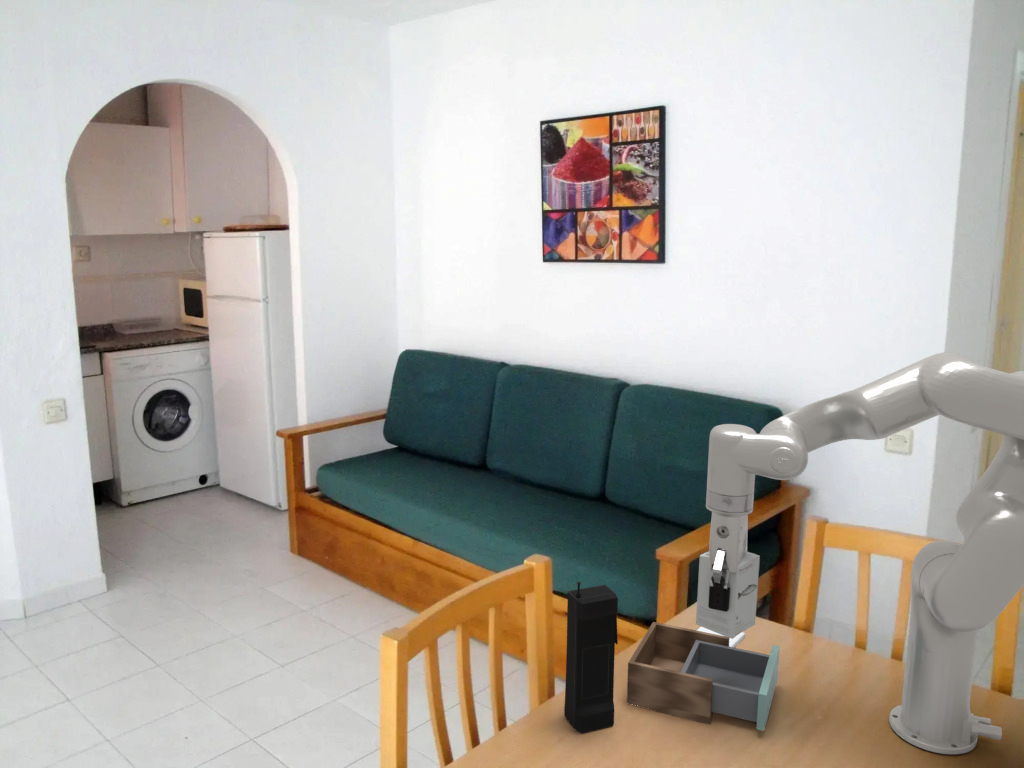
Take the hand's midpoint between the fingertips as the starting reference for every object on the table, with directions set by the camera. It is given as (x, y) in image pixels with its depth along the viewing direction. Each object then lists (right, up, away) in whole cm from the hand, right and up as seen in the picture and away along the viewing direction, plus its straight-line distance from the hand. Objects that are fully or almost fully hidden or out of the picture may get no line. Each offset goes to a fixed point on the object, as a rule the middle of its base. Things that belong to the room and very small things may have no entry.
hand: (723, 597), depth 137 cm
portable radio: (-23, -20, -3) cm, 30 cm away
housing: (-6, -18, +6) cm, 20 cm away
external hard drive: (+4, -16, +23) cm, 28 cm away
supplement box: (0, -5, 0) cm, 5 cm away
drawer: (+1, -17, +3) cm, 17 cm away
